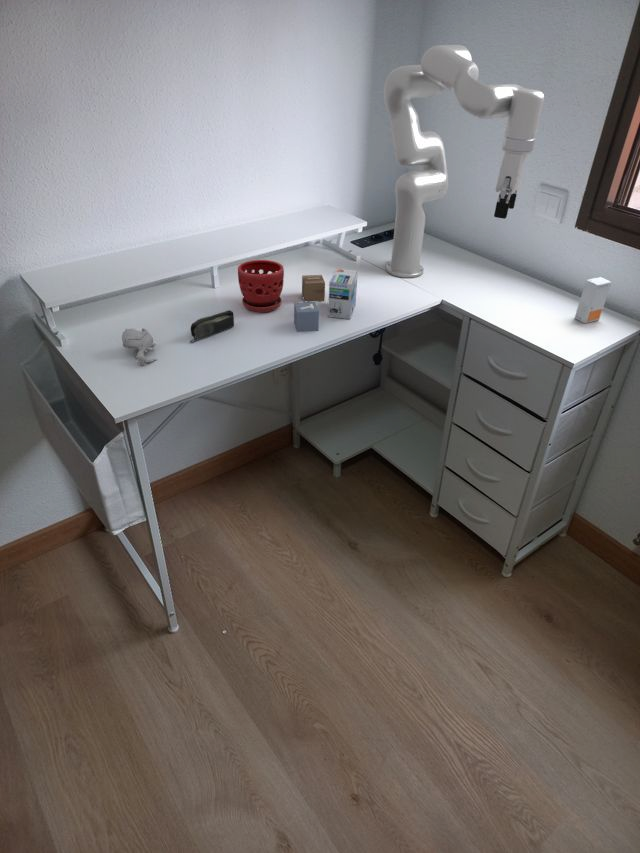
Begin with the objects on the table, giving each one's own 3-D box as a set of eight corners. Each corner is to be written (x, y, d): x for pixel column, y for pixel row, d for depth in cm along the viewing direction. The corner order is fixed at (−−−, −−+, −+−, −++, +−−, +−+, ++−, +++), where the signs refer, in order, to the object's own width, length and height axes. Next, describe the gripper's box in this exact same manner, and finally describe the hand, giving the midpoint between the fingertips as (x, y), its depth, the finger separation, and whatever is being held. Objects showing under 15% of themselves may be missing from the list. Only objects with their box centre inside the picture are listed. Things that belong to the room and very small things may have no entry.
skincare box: (585, 324, 181) (597, 285, 174) (574, 318, 184) (585, 279, 177) (600, 320, 183) (612, 281, 176) (588, 314, 186) (600, 276, 179)
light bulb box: (350, 320, 178) (352, 284, 172) (327, 317, 179) (328, 281, 173) (356, 304, 187) (358, 270, 180) (334, 302, 188) (335, 267, 181)
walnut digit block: (301, 294, 192) (302, 274, 188) (321, 293, 193) (321, 274, 189) (304, 302, 187) (305, 282, 183) (324, 301, 188) (325, 282, 184)
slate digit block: (294, 322, 176) (294, 302, 172) (314, 321, 177) (315, 301, 173) (296, 332, 171) (297, 311, 167) (318, 331, 172) (319, 310, 168)
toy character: (121, 367, 152) (118, 337, 160) (155, 374, 157) (150, 344, 164) (128, 350, 149) (124, 319, 157) (163, 357, 153) (158, 327, 161)
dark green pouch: (228, 307, 171) (184, 323, 162) (235, 311, 170) (191, 327, 160) (229, 324, 174) (185, 340, 165) (236, 327, 173) (192, 344, 163)
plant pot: (293, 305, 184) (293, 266, 177) (260, 319, 177) (259, 279, 170) (263, 292, 192) (262, 254, 185) (230, 304, 184) (227, 265, 177)
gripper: (510, 136, 166) (497, 202, 176) (496, 149, 153) (482, 219, 163) (539, 140, 163) (523, 206, 174) (526, 153, 151) (511, 224, 161)
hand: (503, 212), depth 168 cm, fingers open, 9 cm apart
